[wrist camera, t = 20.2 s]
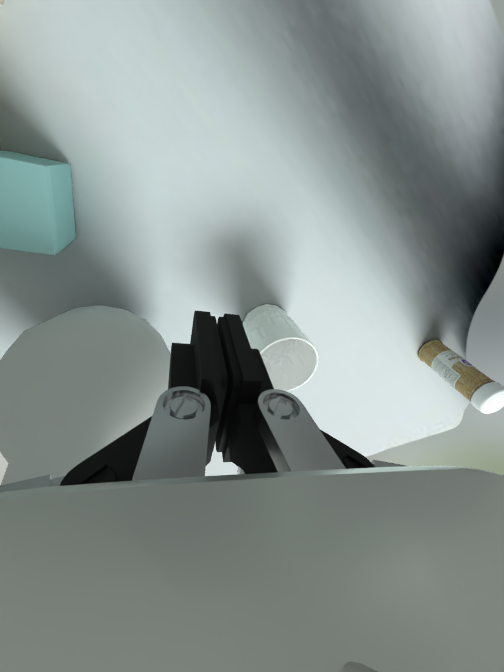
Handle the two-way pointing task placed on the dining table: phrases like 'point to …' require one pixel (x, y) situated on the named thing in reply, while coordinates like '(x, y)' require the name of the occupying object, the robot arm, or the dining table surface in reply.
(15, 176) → the keeper
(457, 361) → the sprinkles bottle
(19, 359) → the vase
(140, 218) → the dining table surface
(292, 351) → the white cup
